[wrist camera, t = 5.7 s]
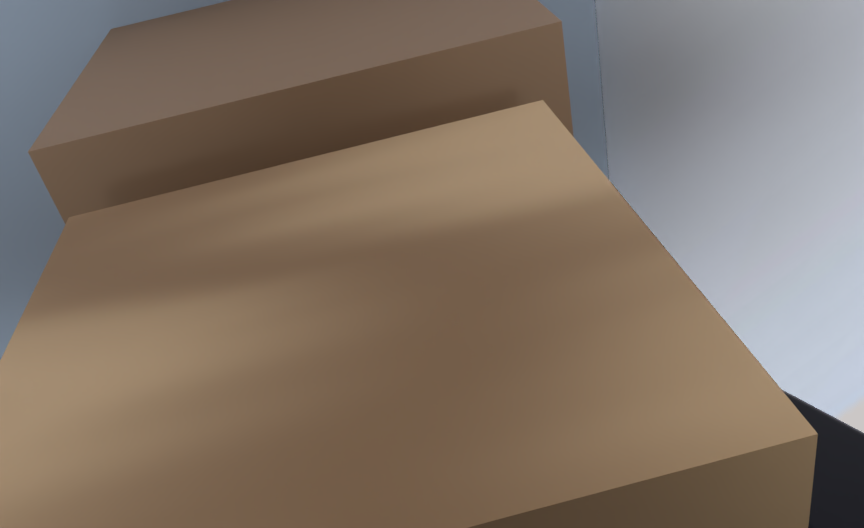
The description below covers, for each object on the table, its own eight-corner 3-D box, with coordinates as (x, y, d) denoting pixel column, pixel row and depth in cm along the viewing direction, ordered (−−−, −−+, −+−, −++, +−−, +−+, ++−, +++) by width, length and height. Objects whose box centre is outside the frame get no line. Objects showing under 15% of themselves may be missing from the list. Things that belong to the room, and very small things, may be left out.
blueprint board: (-65, 484, 18) (-197, 755, 13) (-492, -61, 12) (-1073, 61, 7) (605, 311, 19) (726, 507, 14) (550, -300, 12) (739, -355, 7)
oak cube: (229, 531, 11) (196, 1016, 7) (68, 216, 8) (-161, 696, 4) (584, 438, 11) (774, 850, 7) (542, 99, 8) (817, 433, 4)
